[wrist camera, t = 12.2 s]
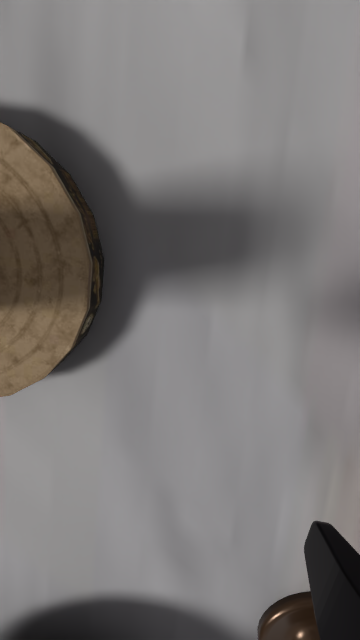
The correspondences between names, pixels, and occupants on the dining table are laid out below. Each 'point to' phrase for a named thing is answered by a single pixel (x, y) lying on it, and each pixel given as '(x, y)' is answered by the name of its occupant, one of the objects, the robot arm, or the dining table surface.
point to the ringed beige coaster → (42, 263)
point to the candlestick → (289, 619)
